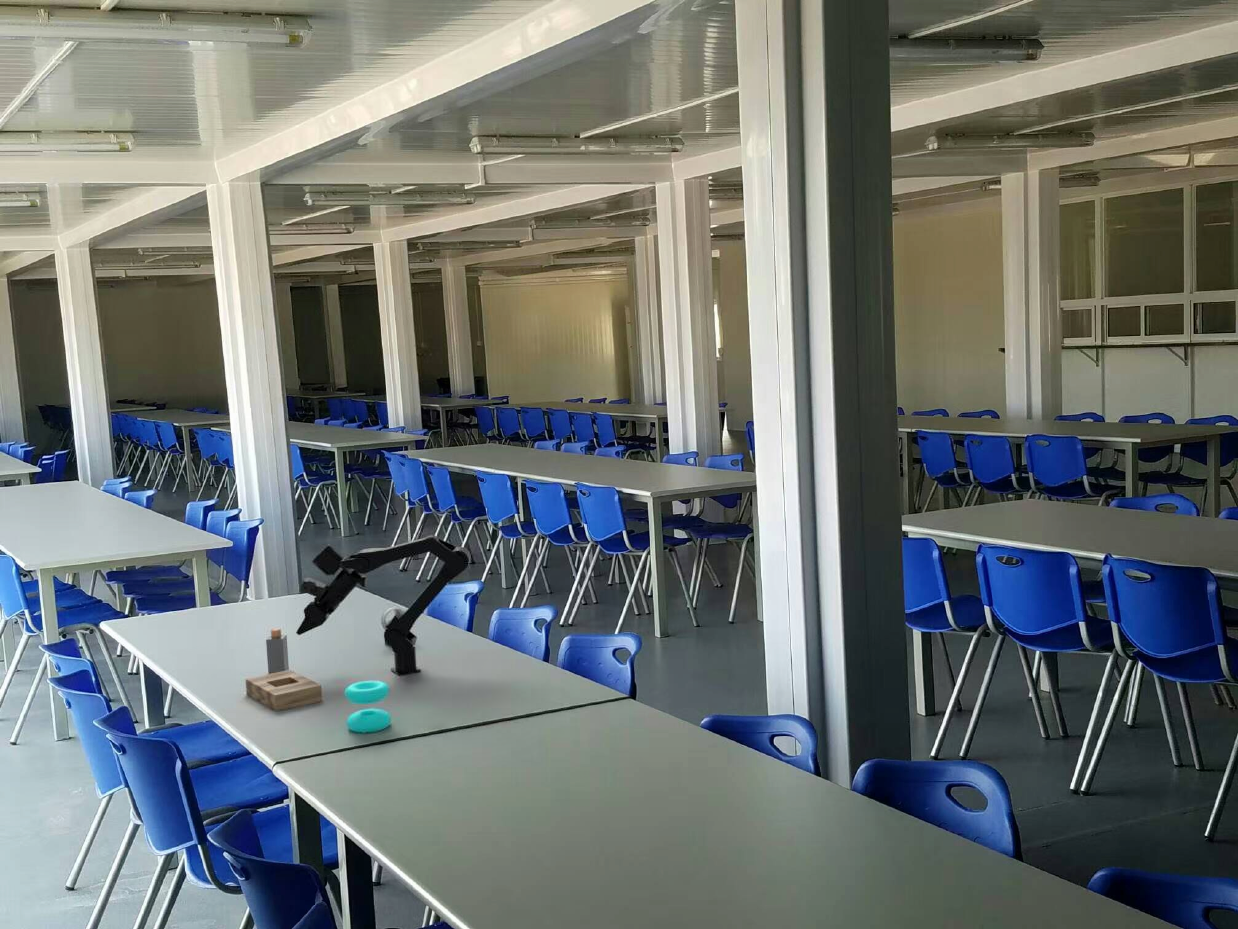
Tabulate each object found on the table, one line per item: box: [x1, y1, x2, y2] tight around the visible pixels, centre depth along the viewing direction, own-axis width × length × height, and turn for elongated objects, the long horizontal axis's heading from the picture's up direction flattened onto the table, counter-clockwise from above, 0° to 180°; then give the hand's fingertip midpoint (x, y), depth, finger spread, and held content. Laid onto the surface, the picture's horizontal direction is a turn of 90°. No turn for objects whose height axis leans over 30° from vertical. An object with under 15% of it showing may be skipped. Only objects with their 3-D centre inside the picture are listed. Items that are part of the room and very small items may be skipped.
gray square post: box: [265, 628, 290, 674], centre depth 329 cm, size 4×4×13 cm
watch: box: [380, 606, 405, 647], centre depth 360 cm, size 6×8×11 cm
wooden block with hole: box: [245, 669, 323, 712], centre depth 310 cm, size 20×12×4 cm, turn 37°
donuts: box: [344, 680, 392, 734], centre depth 283 cm, size 10×10×10 cm
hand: (301, 629), depth 328 cm, fingers open, 9 cm apart
